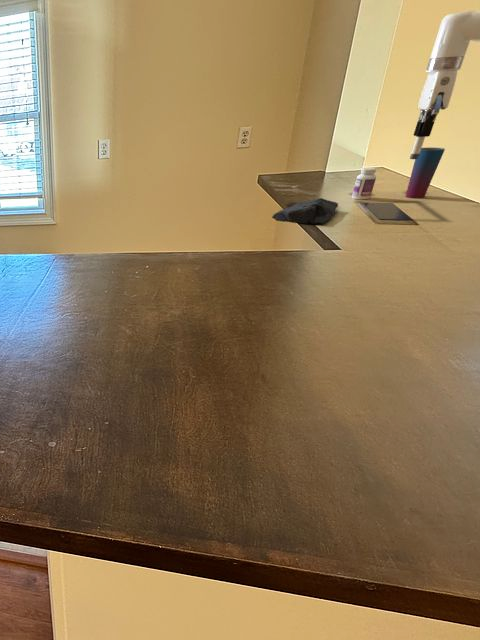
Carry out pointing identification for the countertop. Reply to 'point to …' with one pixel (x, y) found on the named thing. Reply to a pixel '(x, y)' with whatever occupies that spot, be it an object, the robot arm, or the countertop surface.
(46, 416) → the countertop surface
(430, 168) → the cup
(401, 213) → the tablet
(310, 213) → the dark slate chunk
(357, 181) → the pill bottle
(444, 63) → the robot arm
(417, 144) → the stylus
